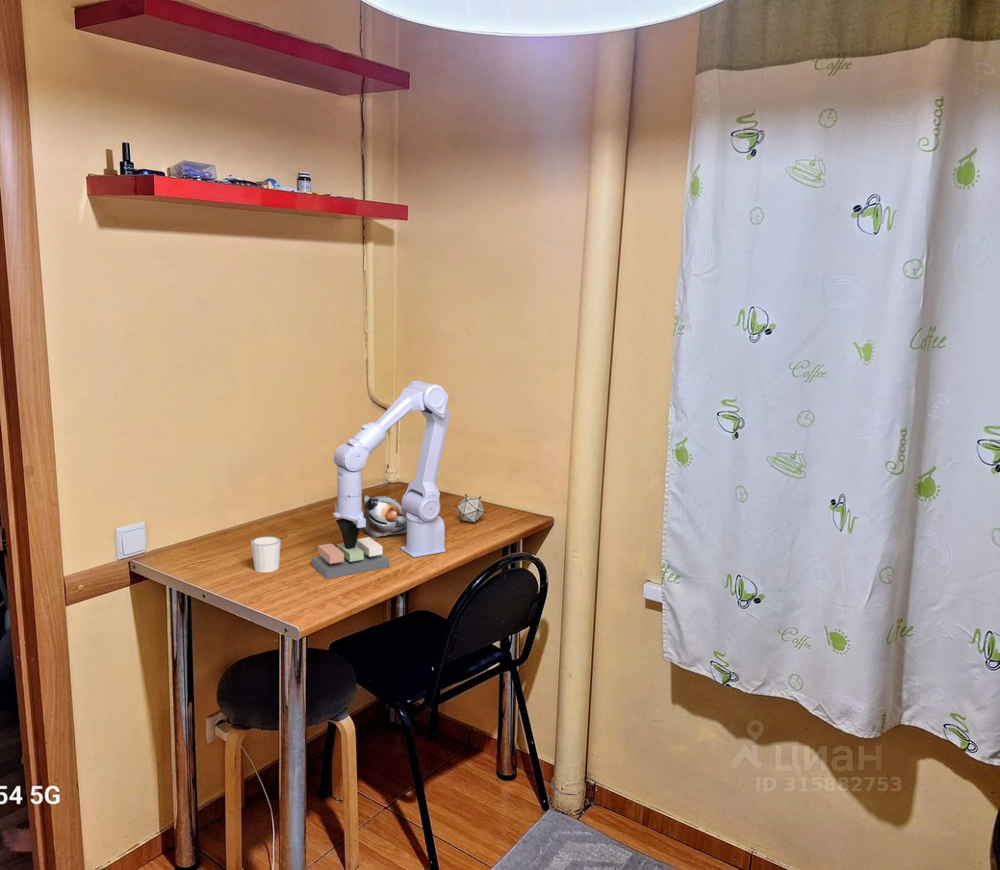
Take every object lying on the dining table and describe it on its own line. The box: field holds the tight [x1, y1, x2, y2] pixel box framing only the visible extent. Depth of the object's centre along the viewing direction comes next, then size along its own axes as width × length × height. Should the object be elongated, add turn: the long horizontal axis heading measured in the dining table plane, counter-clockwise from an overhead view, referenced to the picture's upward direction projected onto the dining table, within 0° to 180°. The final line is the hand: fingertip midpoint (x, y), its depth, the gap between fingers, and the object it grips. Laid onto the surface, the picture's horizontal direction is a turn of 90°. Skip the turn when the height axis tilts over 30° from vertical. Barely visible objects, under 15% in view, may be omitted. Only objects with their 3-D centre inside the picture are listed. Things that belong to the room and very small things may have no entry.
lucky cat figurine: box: [362, 495, 407, 539], centre depth 217 cm, size 15×12×14 cm
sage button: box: [336, 542, 364, 562], centre depth 194 cm, size 4×8×2 cm, turn 33°
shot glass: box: [250, 536, 282, 573], centre depth 191 cm, size 7×7×7 cm
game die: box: [453, 493, 488, 526], centre depth 231 cm, size 9×8×10 cm
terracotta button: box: [317, 543, 344, 564], centre depth 191 cm, size 4×8×2 cm, turn 33°
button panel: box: [311, 553, 390, 580], centre depth 194 cm, size 16×10×2 cm, turn 123°
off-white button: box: [356, 536, 384, 557], centre depth 196 cm, size 4×8×2 cm, turn 33°
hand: (350, 547), depth 193 cm, fingers closed, pressing on sage button
